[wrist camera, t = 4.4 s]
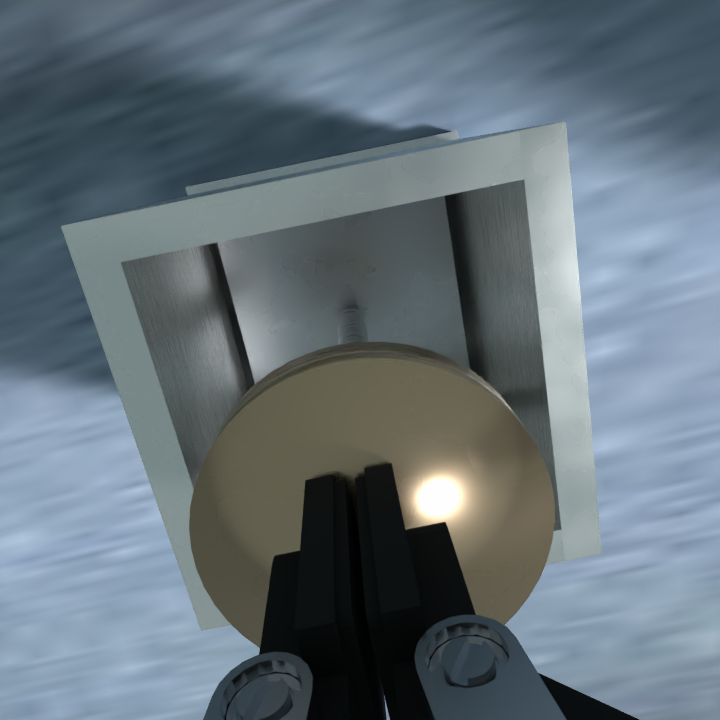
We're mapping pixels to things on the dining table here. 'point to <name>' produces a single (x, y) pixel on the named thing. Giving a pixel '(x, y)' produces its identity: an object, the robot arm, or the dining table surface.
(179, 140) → the dining table surface
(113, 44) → the dining table surface
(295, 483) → the plunger
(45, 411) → the dining table surface
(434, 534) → the robot arm
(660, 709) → the dining table surface
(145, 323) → the white open square box
